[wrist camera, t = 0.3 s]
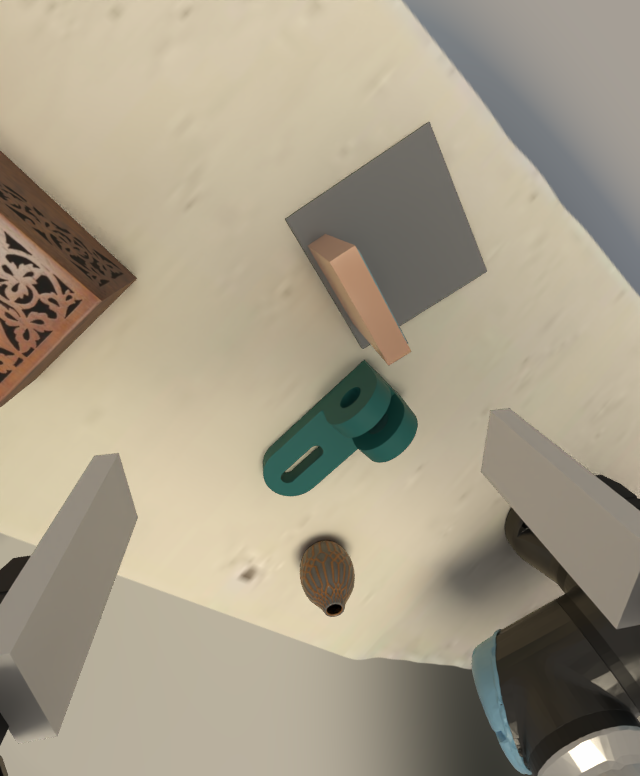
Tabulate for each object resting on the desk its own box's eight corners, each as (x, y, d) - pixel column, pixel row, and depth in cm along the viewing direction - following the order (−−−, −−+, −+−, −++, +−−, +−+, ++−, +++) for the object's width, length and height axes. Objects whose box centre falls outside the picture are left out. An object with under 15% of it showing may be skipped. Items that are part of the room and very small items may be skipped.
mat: (485, 270, 42) (487, 271, 42) (361, 348, 43) (362, 349, 43) (427, 122, 35) (429, 121, 35) (285, 219, 37) (285, 219, 37)
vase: (336, 573, 57) (349, 633, 49) (290, 566, 55) (296, 626, 47) (355, 537, 55) (373, 593, 47) (308, 527, 53) (318, 584, 45)
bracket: (363, 359, 44) (385, 388, 37) (400, 396, 47) (427, 431, 40) (250, 463, 47) (250, 509, 40) (291, 493, 50) (297, 540, 43)
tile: (371, 312, 41) (413, 350, 31) (353, 323, 42) (388, 365, 31) (326, 232, 38) (357, 244, 27) (307, 245, 38) (329, 262, 27)
